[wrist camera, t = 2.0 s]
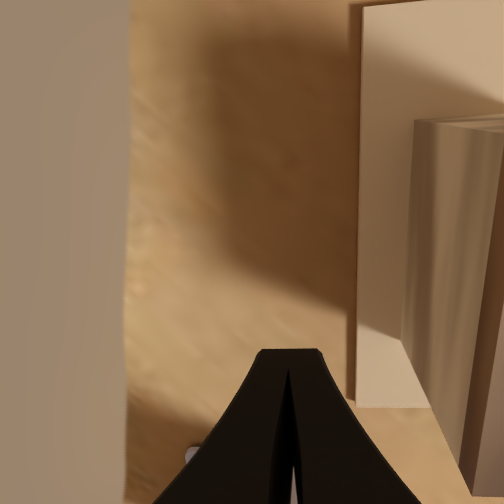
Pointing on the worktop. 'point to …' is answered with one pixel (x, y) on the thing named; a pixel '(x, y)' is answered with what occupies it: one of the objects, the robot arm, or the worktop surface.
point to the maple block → (459, 288)
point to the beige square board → (409, 158)
